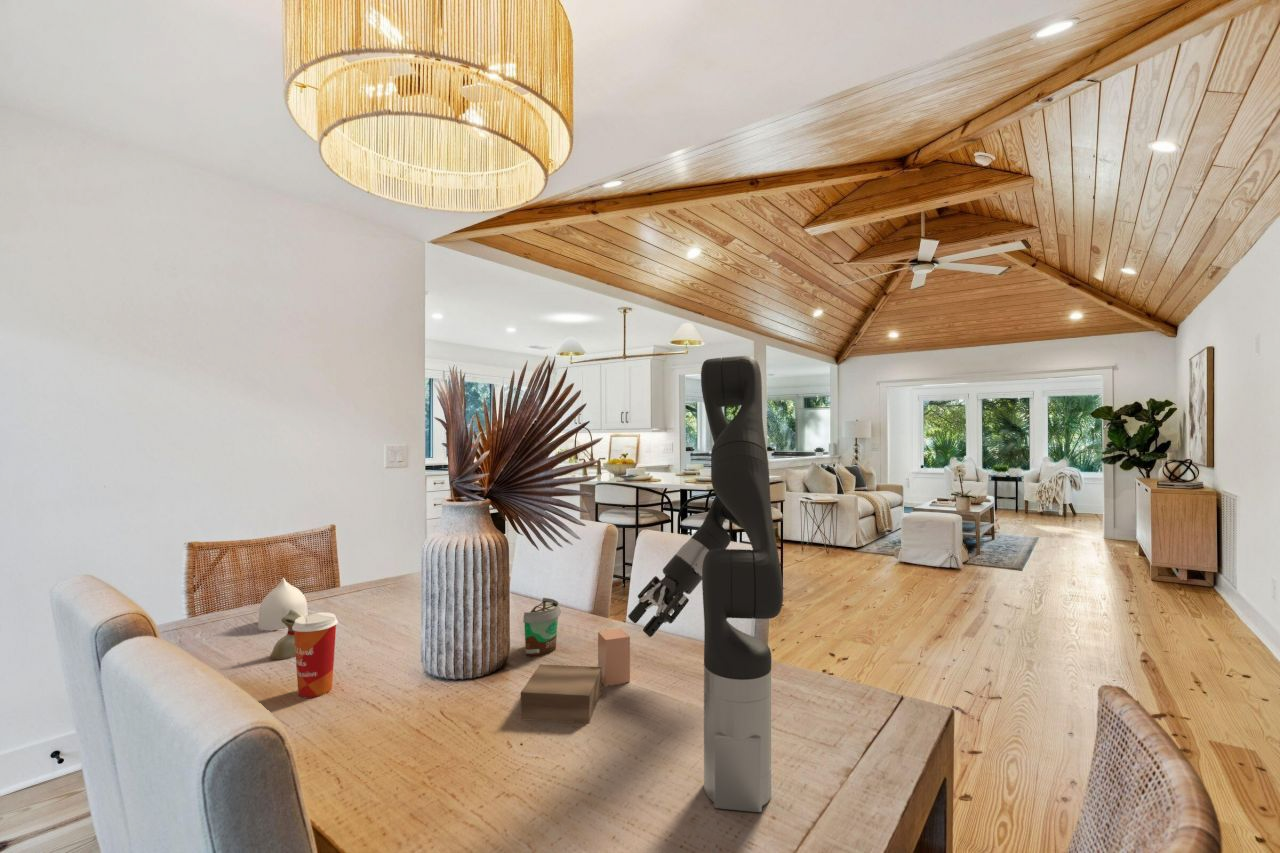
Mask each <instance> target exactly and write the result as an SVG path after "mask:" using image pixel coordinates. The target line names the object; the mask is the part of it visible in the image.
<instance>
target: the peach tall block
mask: <svg viewBox="0 0 1280 853" xmlns="http://www.w3.org/2000/svg"><path fill="white" fill-rule="evenodd" d="M597 662H598V663H597V667H602V684H603V685H604V684H605V685H604V686H605V687H609V686H608V685H611V686H615V685H614V684H617V685H620V684H619V683H623V684H627V683H626V682H629V683H631V636H630V635H629V634H628V633H627V632H626V631H624V630H623V629H622V628H616V629H610V630H609V629H608V630H601V631H597Z"/></svg>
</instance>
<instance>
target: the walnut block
mask: <svg viewBox="0 0 1280 853" xmlns="http://www.w3.org/2000/svg"><path fill="white" fill-rule="evenodd" d="M602 685H603V682H602V667H598V666H584V665H561V664H560V665H557V664H539V665H538V667H537V668H536V670H534V672H533V674H532V675H531V677H530V678H529V679H528V681H527V682H526V684H525V685H524V687H523V688H522V689H521V691H520V720H529V721H546V722H565V723H566V722H567V723H585V724H590V723H591V720H592V717H593V716H594V713H595V709H596V707H597V704H598V702H599V699H600V698H601V694H602V691H603V690H602V689H603V688H602Z"/></svg>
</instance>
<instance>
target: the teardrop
mask: <svg viewBox="0 0 1280 853" xmlns="http://www.w3.org/2000/svg"><path fill="white" fill-rule="evenodd" d="M258 609H259V610H258V622H257V628H259V629H258V630H260V629H261V630H260V631H263V630H279V629H285V628H288V627H287V626H286V625H285V624H284V623H282V621H281V619H282V618H283V617H284V616H286V615H287V614H288V612H289V611H290V610H294V611H295V612H297V613H298V614H299V615H300V616H304V617H305V616H306V615H309V614H308V602H307V599H306V596H305V595H304V593H303V592H302V591H301V590H300V589H299V588H297V587H295V586H294V585H292V584H290V583H289V582H287V580H286V579H285V576H283V577H282V579H281V581H280V583H278V585H277V586H276V587H273V589H272V590H270V592H269V593H267V594H266V596H265V597H264V598H263V600H262V601H261V603H260V605H259V608H258ZM279 631H280V630H279Z"/></svg>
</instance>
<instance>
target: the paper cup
mask: <svg viewBox="0 0 1280 853" xmlns="http://www.w3.org/2000/svg"><path fill="white" fill-rule="evenodd" d="M338 623H339V621H338V619H337V617H336V614H334V613H332V612H315V614H313V613H311V614H308V615H306V616H305V617H304V616H301V617H299V618H297V619H296V620H295V622H294V625H293V627H292V630H294V638H295V653H296V657H295V664H296V665H295V666H296V667H295V668H296V678H297V679H296V680H297V681H296V682H297V692H298V696H299V697H300V696H301V698H303V697H306V698H305V699H311V698H310V697H313V698H317V697H316V696H318V697H321V696H320V695H322V696H324V695H326V694H325V693H327V692H328V693H330V692H331V691H332V688H333V678H334V666H335V665H334V664H335V663H334V662H335V649H336V648H335V647H336V635H337V634H336V630H337V624H338ZM330 690H331V691H330ZM329 691H330V692H329ZM328 693H327V694H328ZM323 694H324V695H323Z"/></svg>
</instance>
